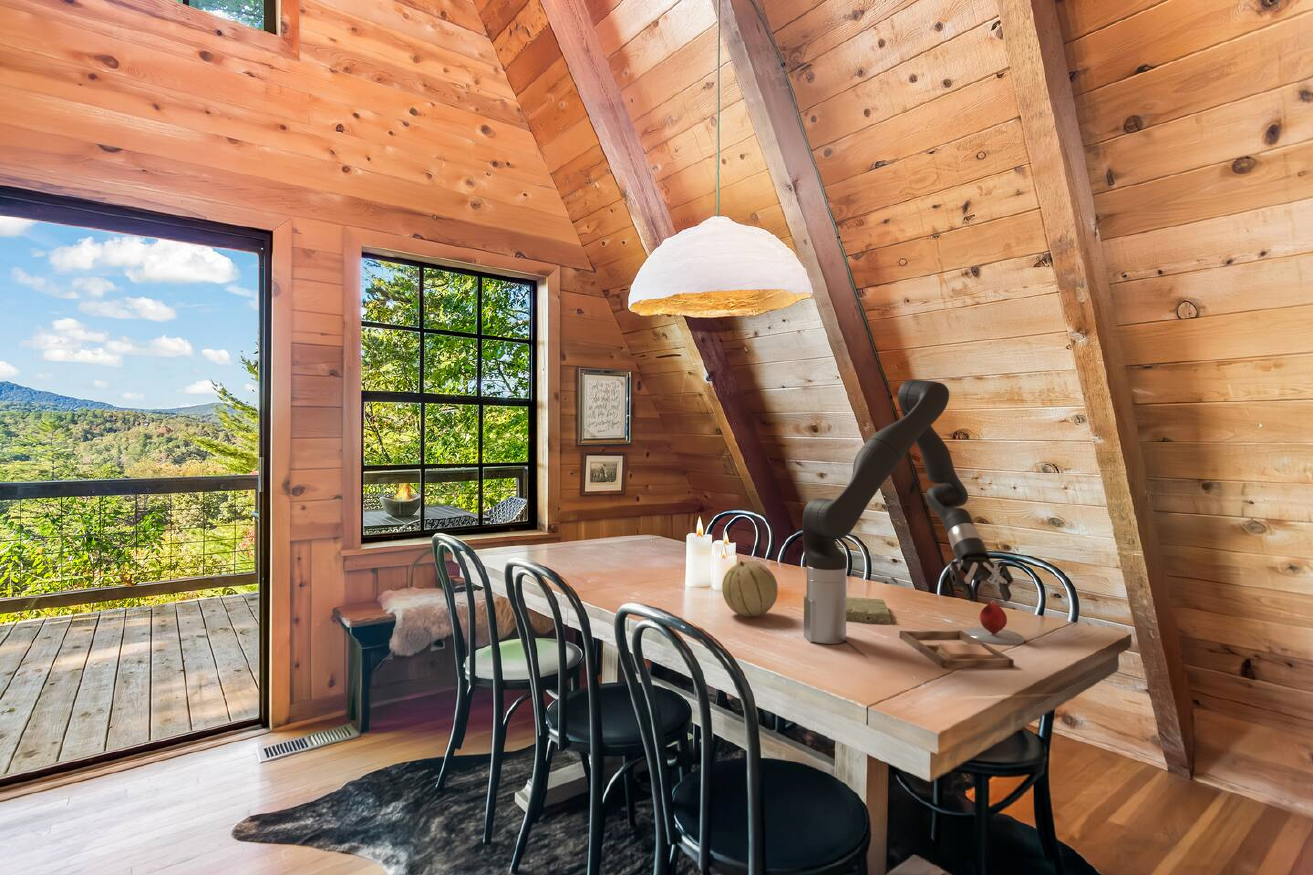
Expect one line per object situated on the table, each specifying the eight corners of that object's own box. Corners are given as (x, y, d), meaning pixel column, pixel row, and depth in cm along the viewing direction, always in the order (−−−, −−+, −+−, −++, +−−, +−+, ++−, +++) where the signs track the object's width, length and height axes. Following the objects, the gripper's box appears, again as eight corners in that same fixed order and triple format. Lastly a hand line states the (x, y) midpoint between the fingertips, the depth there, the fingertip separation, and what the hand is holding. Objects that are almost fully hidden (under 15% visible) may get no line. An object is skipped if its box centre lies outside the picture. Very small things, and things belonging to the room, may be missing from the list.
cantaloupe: (788, 616, 187) (789, 560, 187) (754, 626, 177) (755, 567, 177) (744, 606, 197) (745, 553, 197) (710, 615, 187) (711, 559, 187)
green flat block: (811, 605, 202) (811, 592, 202) (883, 609, 198) (883, 596, 198) (812, 621, 184) (812, 607, 184) (892, 626, 180) (892, 612, 180)
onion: (995, 638, 164) (994, 604, 164) (974, 632, 169) (973, 599, 169) (1012, 635, 166) (1011, 601, 166) (992, 629, 172) (991, 596, 171)
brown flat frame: (943, 670, 144) (943, 660, 144) (899, 639, 166) (899, 631, 166) (1013, 669, 145) (1013, 659, 145) (960, 638, 167) (960, 630, 167)
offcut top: (949, 659, 147) (949, 653, 147) (938, 649, 154) (938, 643, 154) (993, 660, 146) (994, 654, 146) (980, 650, 153) (980, 645, 153)
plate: (981, 646, 161) (981, 642, 161) (953, 631, 174) (953, 627, 174) (1035, 646, 161) (1035, 641, 161) (1004, 630, 174) (1004, 626, 174)
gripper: (945, 536, 177) (967, 591, 166) (1000, 536, 178) (1026, 591, 166) (935, 553, 182) (956, 608, 171) (988, 553, 183) (1013, 608, 172)
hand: (990, 599), depth 169 cm, fingers open, 8 cm apart
